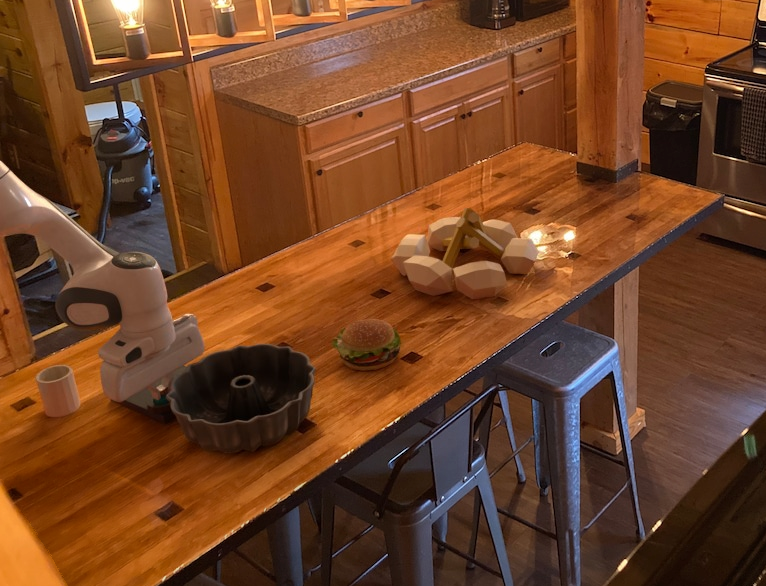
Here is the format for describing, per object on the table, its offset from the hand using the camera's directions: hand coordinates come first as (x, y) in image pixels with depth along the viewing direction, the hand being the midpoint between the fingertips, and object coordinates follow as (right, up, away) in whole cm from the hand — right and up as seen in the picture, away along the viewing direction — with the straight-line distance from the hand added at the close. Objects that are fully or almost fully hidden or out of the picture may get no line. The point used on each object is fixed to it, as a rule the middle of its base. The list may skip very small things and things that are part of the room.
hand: (162, 395), depth 183 cm
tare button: (0, -1, +1) cm, 2 cm away
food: (+35, +4, +21) cm, 41 cm away
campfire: (+50, +21, +59) cm, 80 cm away
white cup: (-21, -3, +3) cm, 21 cm away
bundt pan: (+17, -5, -1) cm, 18 cm away
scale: (-2, -1, +7) cm, 8 cm away
